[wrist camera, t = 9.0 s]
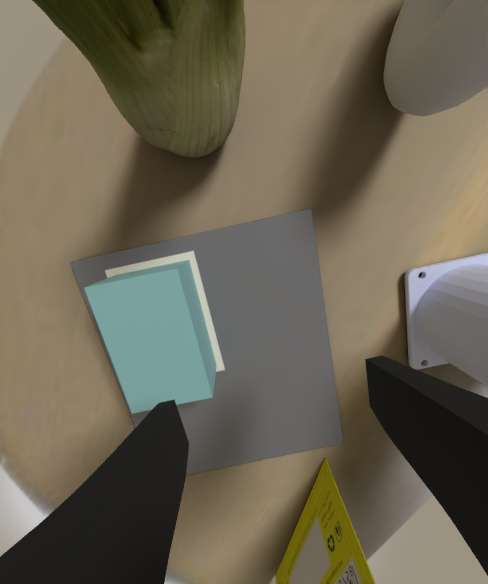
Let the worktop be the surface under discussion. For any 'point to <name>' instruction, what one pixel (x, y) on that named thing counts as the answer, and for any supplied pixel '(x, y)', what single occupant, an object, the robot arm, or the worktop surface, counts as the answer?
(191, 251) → the mat
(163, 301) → the card box
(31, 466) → the worktop surface
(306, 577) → the food package
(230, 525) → the worktop surface
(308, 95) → the worktop surface
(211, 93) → the fennel bulb
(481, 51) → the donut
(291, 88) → the worktop surface
